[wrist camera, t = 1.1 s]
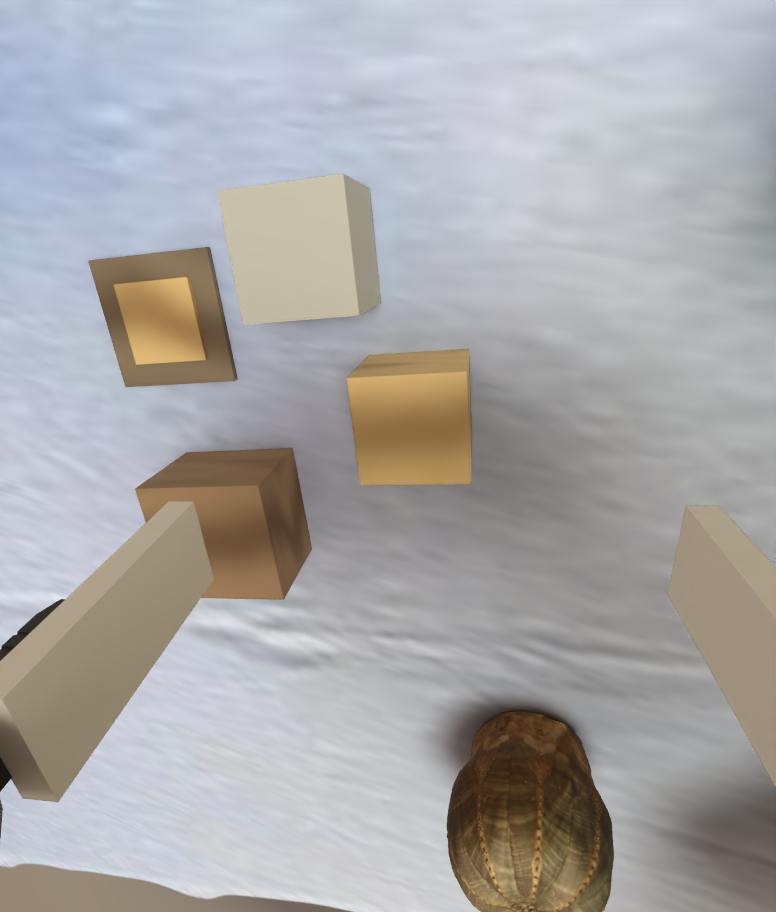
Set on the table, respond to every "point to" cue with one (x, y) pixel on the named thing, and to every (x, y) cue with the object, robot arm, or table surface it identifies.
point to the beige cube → (302, 249)
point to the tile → (165, 317)
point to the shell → (529, 821)
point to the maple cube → (412, 418)
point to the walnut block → (240, 517)
